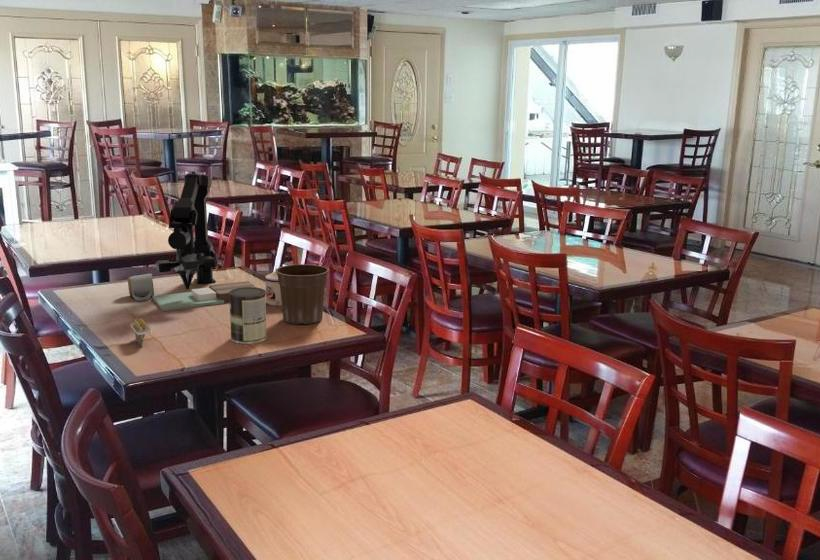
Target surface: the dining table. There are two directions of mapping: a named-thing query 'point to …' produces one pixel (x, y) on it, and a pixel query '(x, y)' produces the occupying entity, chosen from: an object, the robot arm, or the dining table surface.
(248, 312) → the coffee can
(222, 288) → the walnut deck
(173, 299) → the sage mat
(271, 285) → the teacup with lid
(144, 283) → the ceramic mug
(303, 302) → the plant pot
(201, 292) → the ivory tile
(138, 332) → the yellow flower bouquet
